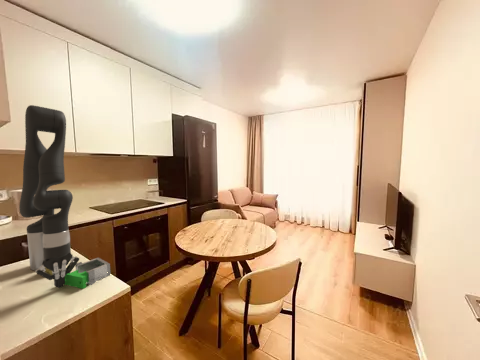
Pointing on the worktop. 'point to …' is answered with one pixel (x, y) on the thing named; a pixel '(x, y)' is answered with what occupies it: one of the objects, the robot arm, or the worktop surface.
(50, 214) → the robot arm
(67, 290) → the worktop surface
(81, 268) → the grey u-shaped bracket
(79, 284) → the pipe clamp
